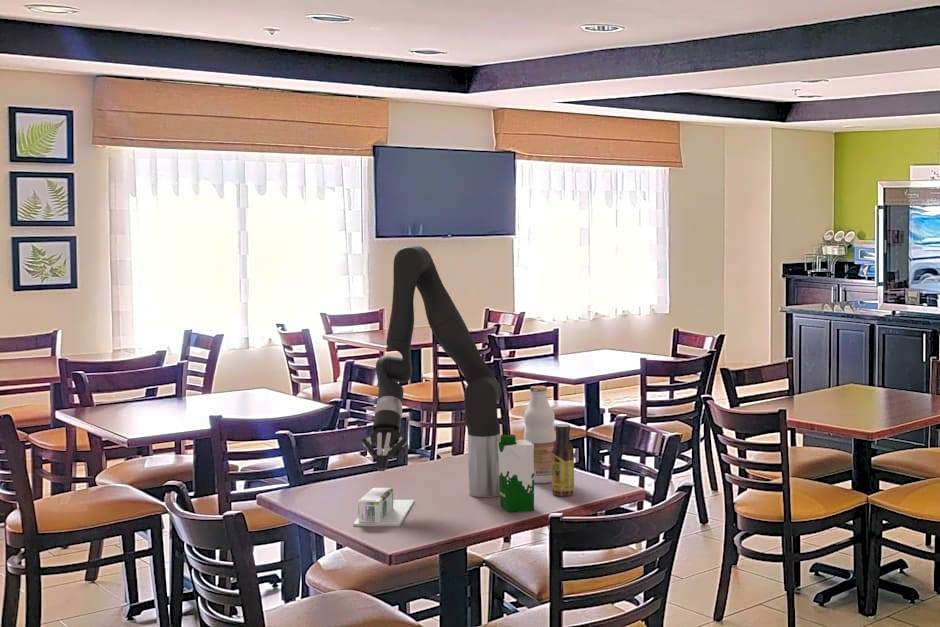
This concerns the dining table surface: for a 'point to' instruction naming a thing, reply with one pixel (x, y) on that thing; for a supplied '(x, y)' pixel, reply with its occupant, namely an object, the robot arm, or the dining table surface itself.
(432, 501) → the dining table surface
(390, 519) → the mat
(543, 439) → the fruit juice
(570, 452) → the sauce bottle
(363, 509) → the syrup box
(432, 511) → the dining table surface
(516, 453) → the milk carton
